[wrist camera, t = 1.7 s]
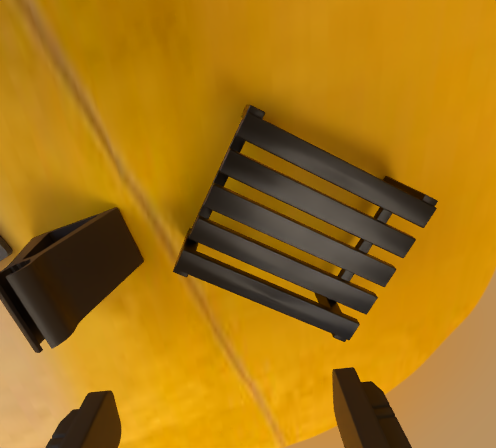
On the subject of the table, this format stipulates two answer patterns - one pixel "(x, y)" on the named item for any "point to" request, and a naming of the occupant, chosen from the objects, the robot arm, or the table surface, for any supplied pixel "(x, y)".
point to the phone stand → (67, 276)
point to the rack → (300, 229)
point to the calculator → (4, 249)
